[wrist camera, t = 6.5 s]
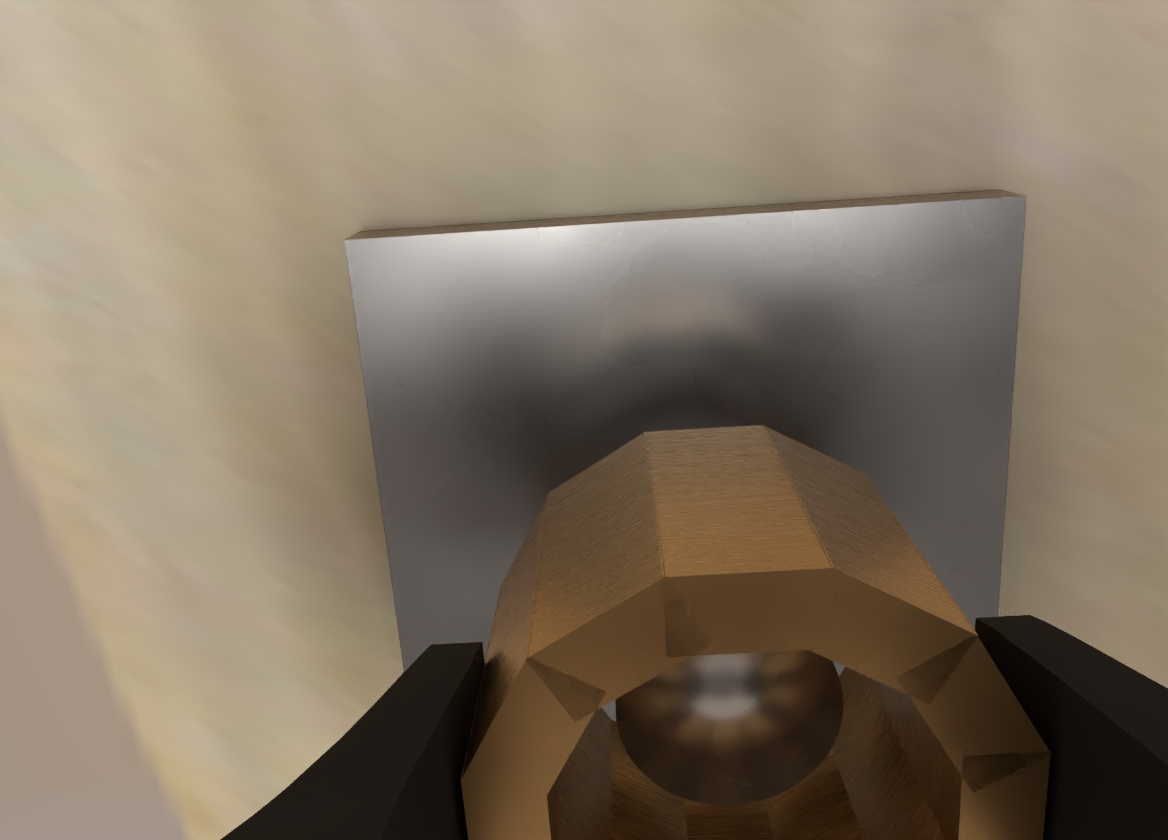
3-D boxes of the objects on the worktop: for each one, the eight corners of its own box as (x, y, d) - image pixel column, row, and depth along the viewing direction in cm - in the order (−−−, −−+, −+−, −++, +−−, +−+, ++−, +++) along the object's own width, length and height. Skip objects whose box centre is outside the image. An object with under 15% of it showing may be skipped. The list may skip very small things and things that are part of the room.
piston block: (1000, 190, 15) (1234, 244, 10) (966, 740, 18) (1129, 1029, 13) (360, 231, 16) (221, 308, 10) (431, 765, 19) (356, 1054, 13)
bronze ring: (925, 414, 12) (1067, 555, 9) (912, 785, 14) (1025, 1039, 10) (486, 441, 13) (435, 588, 9) (524, 802, 14) (495, 1058, 11)
